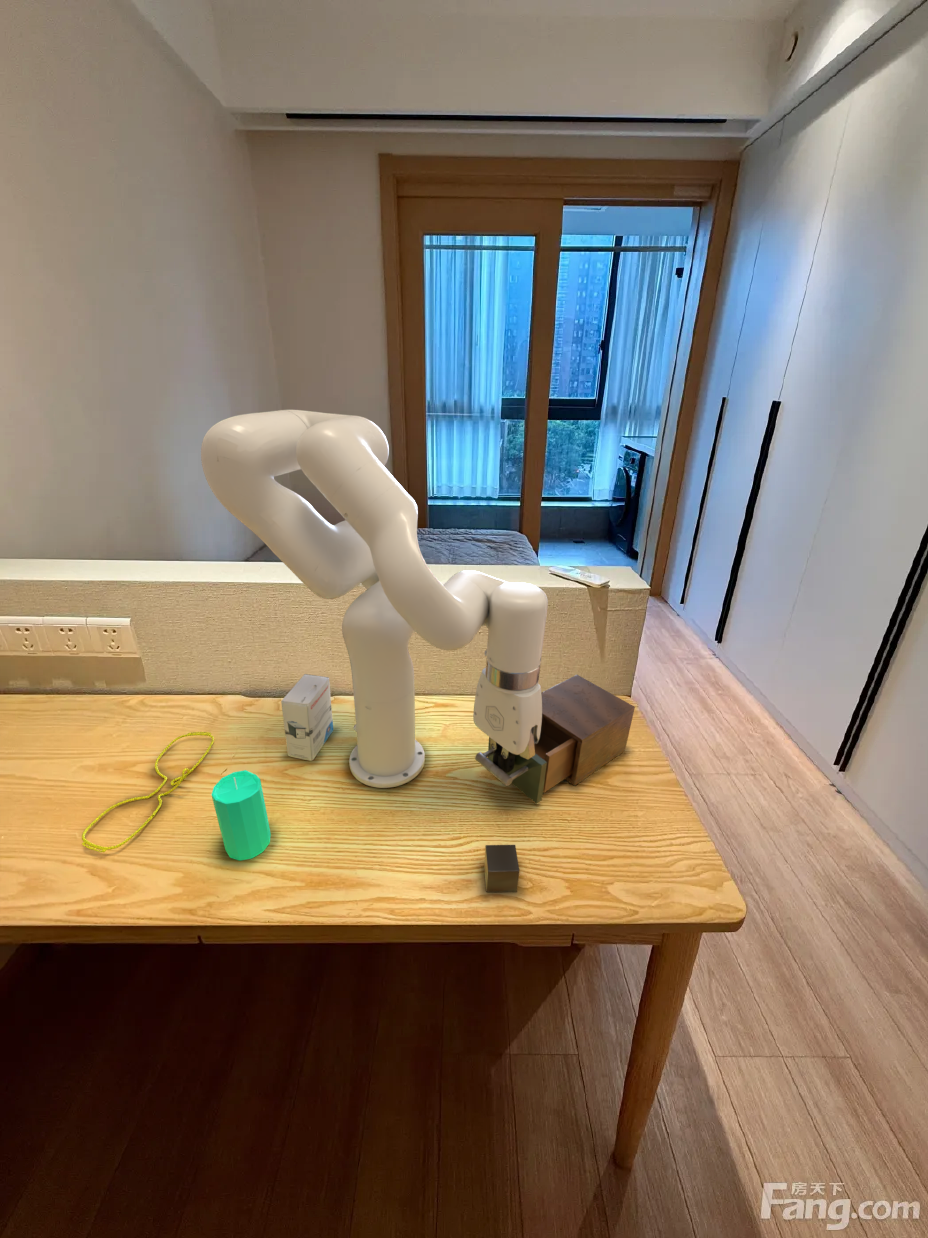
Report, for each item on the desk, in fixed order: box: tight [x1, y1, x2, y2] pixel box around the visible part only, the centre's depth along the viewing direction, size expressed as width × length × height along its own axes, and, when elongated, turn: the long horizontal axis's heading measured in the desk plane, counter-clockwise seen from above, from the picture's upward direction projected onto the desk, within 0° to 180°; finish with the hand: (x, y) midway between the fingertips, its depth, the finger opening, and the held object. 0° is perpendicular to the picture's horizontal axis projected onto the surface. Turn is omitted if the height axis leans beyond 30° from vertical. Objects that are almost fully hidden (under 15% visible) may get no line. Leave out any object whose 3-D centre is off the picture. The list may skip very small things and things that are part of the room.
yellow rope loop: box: [81, 731, 215, 853], centre depth 79 cm, size 25×10×5 cm, turn 172°
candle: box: [211, 769, 272, 862], centre depth 70 cm, size 6×6×12 cm
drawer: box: [474, 717, 578, 805], centre depth 83 cm, size 18×11×8 cm, turn 130°
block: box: [483, 844, 520, 893], centre depth 68 cm, size 4×4×4 cm
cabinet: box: [541, 674, 636, 786], centre depth 90 cm, size 14×13×10 cm
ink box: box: [280, 673, 334, 762], centre depth 88 cm, size 9×5×12 cm, turn 168°
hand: (502, 769), depth 80 cm, fingers closed
